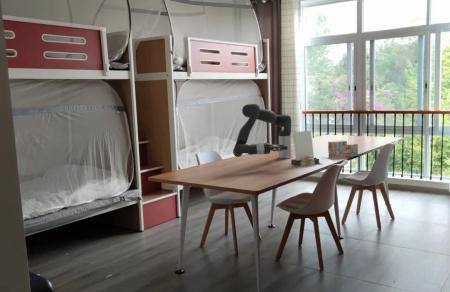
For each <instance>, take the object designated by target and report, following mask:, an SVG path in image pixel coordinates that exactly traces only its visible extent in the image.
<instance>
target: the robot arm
mask: <svg viewBox="0 0 450 292" xmlns="http://www.w3.org/2000/svg"><path fill="white" fill-rule="evenodd" d="M241 111H242V112H241V113H242V114H243V116H244V117H246V118H248V119H247V121H246V122H245V123H244V125H242V126H241V128H240V130H239V132H238V135H237V138H236V141H235V144H234V147H233V150H232V153H233V156H234V157H236V158H240V157H241V156H243V154H248V155H249V156H250V155H252V156H253V155H269V154H270V153H271V152H278V153H277V154H278V159H291V158H292V139H291V138H292V137H291V136H292V135H291V134H292V118H291V116H290V115H288V114H276V113H275V112H274V111H272V110H270V109H267V108H261V107H260V105H259V104H257V103H248V104H245V105H243V106H242V109H241ZM257 121H261V122H264V123H268V124H273V125H275V126H277V127H279V128H283V129H282V130H281V131H279V132H278V144H270V143H269V142H262V143H260V142H259V143H251V144H250V143H249V144H247V142H248V140H249V136H250V133H251V132H252V130H253V127H254V125H255V123H256V122H257Z"/></svg>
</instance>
